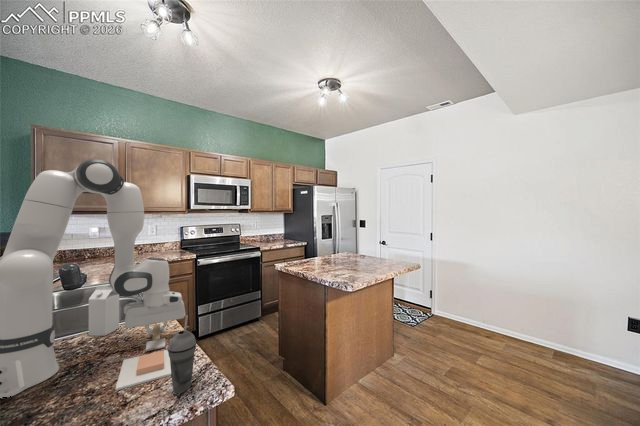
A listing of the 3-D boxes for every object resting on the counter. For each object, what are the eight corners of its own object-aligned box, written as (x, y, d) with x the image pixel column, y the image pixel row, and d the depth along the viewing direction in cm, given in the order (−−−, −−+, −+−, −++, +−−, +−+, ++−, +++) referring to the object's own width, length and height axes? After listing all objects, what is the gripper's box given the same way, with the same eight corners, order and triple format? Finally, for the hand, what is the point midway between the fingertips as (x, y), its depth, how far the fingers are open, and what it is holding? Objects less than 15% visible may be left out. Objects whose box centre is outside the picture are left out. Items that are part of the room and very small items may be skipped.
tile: (139, 361, 85) (136, 376, 77) (139, 356, 85) (136, 369, 77) (163, 355, 89) (163, 368, 81) (163, 350, 89) (163, 363, 81)
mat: (115, 390, 72) (115, 388, 72) (123, 361, 86) (123, 359, 86) (173, 374, 79) (173, 372, 79) (172, 350, 94) (171, 348, 94)
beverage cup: (169, 382, 75) (169, 313, 76) (197, 376, 78) (197, 310, 78) (164, 398, 68) (164, 323, 69) (195, 392, 71) (195, 318, 71)
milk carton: (103, 328, 112) (103, 284, 113) (119, 328, 112) (119, 284, 112) (88, 336, 105) (88, 289, 105) (105, 336, 105) (105, 289, 105)
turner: (145, 351, 92) (145, 343, 92) (148, 333, 106) (148, 325, 106) (165, 347, 95) (165, 338, 95) (165, 329, 109) (165, 322, 109)
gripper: (122, 305, 94) (122, 343, 94) (185, 296, 105) (185, 330, 105) (124, 300, 100) (124, 337, 100) (184, 292, 110) (184, 325, 110)
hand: (156, 333), depth 102 cm, fingers closed on turner, 2 cm apart
